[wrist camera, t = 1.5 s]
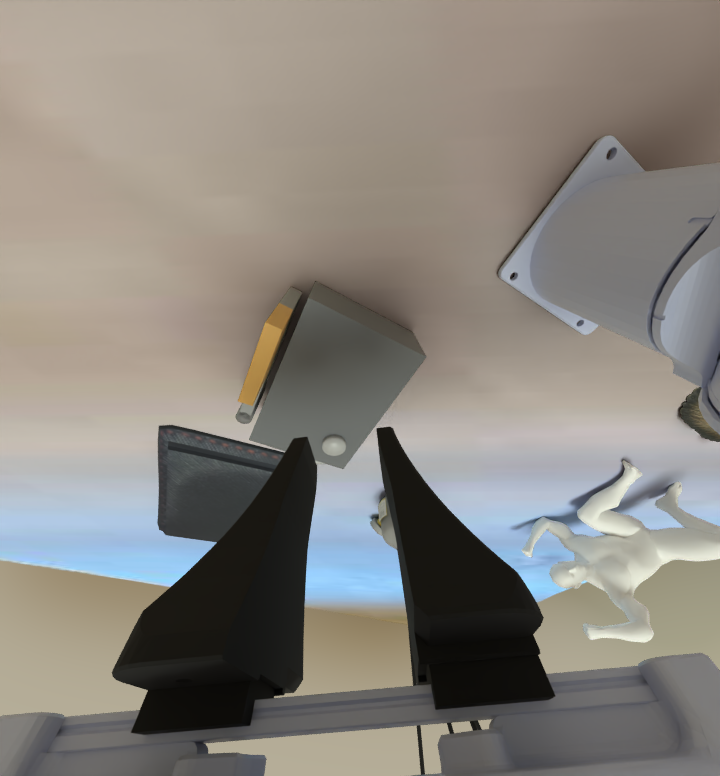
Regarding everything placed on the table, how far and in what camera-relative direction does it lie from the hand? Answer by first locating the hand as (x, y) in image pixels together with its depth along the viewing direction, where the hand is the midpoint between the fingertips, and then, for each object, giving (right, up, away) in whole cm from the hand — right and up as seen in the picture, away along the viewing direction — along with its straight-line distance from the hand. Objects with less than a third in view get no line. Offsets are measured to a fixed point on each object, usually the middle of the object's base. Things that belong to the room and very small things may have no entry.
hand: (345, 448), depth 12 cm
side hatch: (-6, +6, +8) cm, 11 cm away
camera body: (-2, +4, +10) cm, 11 cm away
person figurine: (+31, -13, +24) cm, 41 cm away
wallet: (-15, -10, +19) cm, 26 cm away
